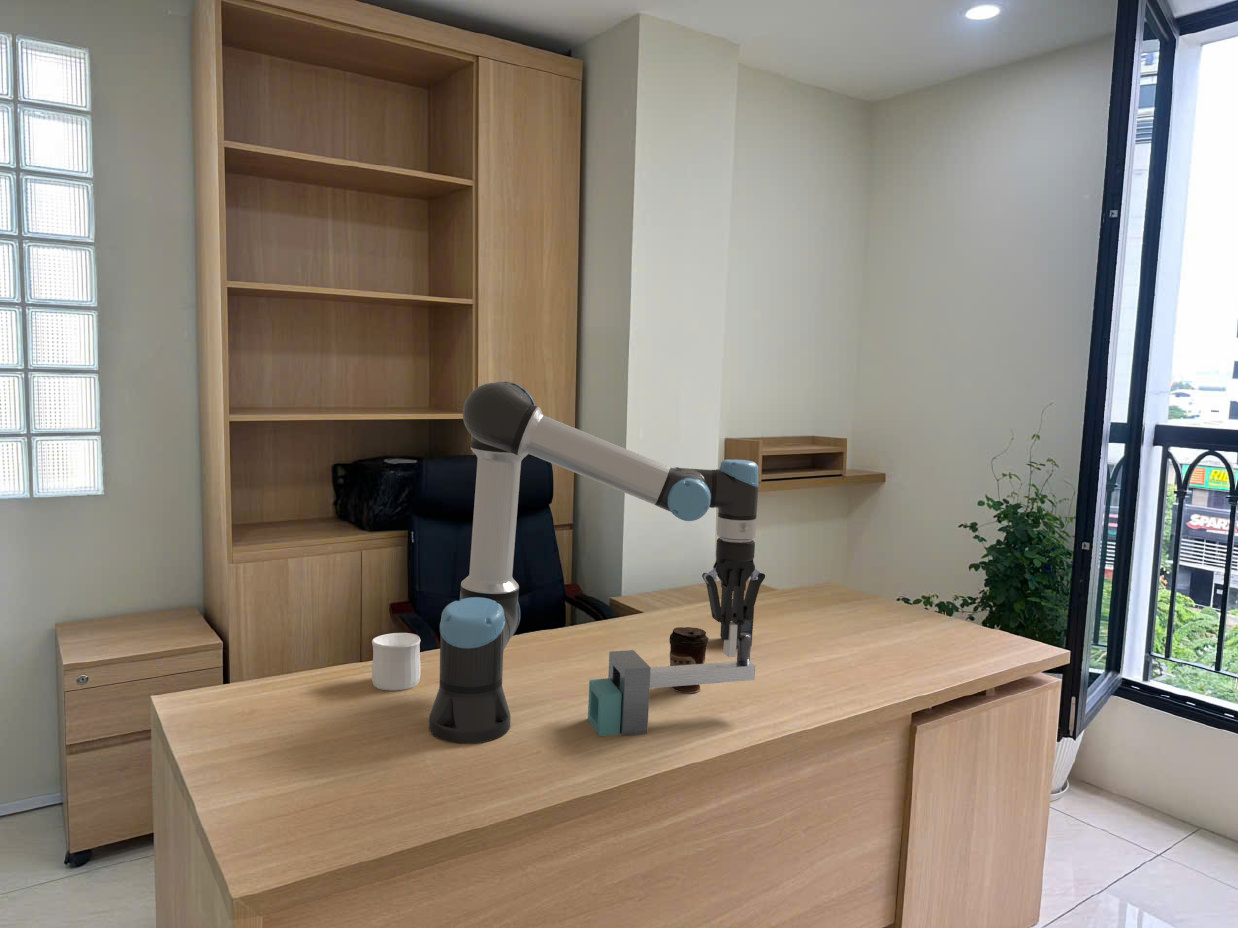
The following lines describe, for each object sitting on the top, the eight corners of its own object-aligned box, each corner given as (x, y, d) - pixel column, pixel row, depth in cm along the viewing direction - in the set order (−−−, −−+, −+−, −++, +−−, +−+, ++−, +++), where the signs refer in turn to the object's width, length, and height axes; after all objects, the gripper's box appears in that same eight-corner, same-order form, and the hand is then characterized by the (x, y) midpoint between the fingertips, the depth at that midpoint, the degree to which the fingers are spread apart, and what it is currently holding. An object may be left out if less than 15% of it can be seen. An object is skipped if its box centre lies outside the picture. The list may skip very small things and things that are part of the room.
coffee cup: (693, 699, 180) (696, 639, 178) (659, 690, 184) (662, 631, 183) (711, 687, 187) (715, 629, 186) (678, 678, 192) (681, 622, 190)
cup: (429, 684, 182) (430, 639, 181) (388, 696, 174) (388, 649, 173) (404, 672, 188) (404, 629, 187) (363, 683, 181) (363, 638, 180)
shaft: (631, 689, 164) (634, 644, 163) (627, 684, 166) (629, 639, 165) (754, 680, 172) (757, 636, 171) (747, 674, 174) (750, 632, 173)
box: (752, 647, 216) (754, 606, 215) (730, 648, 214) (733, 607, 213) (741, 637, 223) (743, 598, 222) (720, 638, 222) (722, 598, 221)
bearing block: (622, 736, 160) (625, 669, 159) (606, 715, 170) (609, 651, 168) (647, 733, 162) (650, 667, 160) (630, 713, 171) (633, 650, 170)
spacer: (599, 736, 160) (601, 695, 159) (587, 719, 168) (589, 679, 167) (619, 734, 161) (621, 693, 160) (607, 717, 169) (609, 678, 168)
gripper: (713, 543, 163) (706, 663, 165) (774, 541, 167) (767, 659, 169) (697, 535, 170) (692, 650, 172) (757, 534, 174) (750, 646, 176)
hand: (729, 654), depth 171 cm, fingers closed
